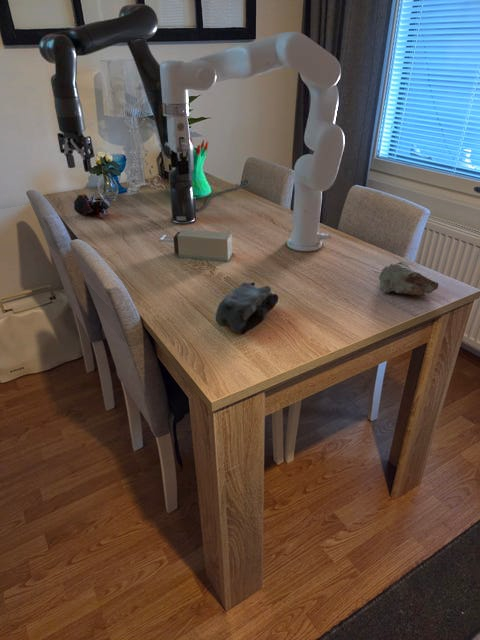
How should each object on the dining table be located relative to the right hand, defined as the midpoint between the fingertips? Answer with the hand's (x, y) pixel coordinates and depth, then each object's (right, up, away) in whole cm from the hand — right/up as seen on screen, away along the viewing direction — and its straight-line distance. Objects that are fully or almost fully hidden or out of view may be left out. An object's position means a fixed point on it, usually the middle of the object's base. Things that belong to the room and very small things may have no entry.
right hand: (179, 170), depth 137 cm
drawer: (+2, -22, +18) cm, 29 cm away
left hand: (-32, +2, +4) cm, 33 cm away
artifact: (+68, -37, -3) cm, 77 cm away
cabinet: (+7, -24, +17) cm, 30 cm away
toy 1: (-44, -2, +52) cm, 68 cm away
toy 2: (-6, +15, +79) cm, 81 cm away
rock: (+21, -47, -19) cm, 54 cm away
